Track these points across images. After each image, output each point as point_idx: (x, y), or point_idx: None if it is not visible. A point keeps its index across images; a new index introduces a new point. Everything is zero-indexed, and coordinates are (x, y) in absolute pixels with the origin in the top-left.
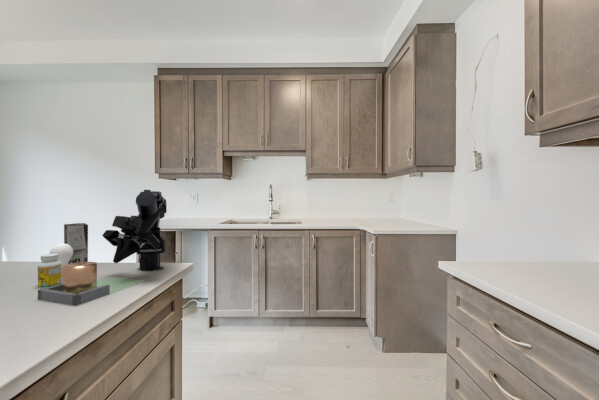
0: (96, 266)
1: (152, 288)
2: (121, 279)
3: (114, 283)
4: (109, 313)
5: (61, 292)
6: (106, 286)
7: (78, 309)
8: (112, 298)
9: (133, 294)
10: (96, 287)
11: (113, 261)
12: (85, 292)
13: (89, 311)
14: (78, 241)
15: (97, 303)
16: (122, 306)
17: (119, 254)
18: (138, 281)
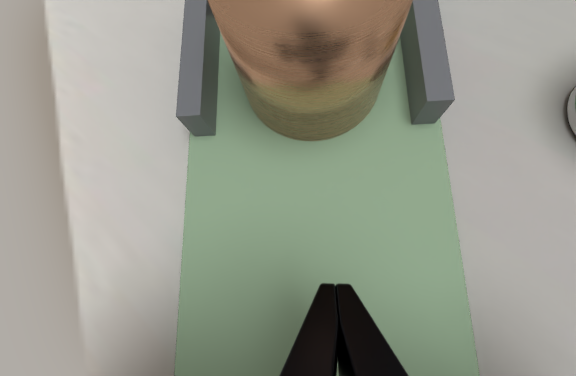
0: (221, 17)
1: (79, 307)
2: None
3: (319, 272)
4: (59, 25)
5: None
6: (178, 100)
7: None
8: (162, 125)
9: (111, 196)
10: (254, 105)
11: (344, 285)
12: (188, 3)
13: (136, 11)
14: None
15: (173, 66)
16: (59, 80)
17: (301, 348)
18: (213, 364)
